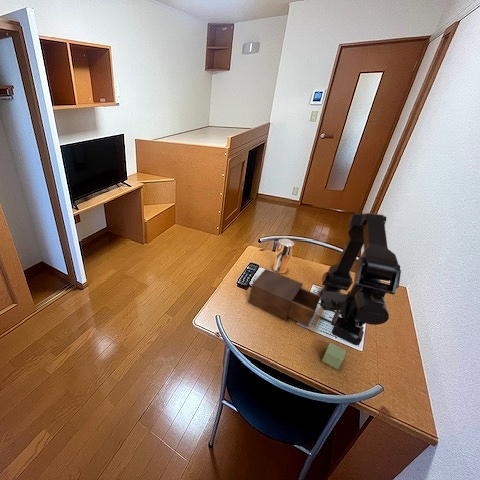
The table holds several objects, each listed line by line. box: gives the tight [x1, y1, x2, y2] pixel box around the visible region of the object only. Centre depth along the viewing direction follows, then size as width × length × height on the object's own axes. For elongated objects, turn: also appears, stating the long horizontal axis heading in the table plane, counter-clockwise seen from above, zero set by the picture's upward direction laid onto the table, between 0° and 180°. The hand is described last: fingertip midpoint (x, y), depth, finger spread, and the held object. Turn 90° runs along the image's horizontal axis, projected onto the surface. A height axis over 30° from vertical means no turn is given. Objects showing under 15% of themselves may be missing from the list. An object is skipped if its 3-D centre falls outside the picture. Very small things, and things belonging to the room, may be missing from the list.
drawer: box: [287, 287, 341, 332], centre depth 94 cm, size 18×11×8 cm, turn 48°
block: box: [321, 342, 347, 370], centre depth 81 cm, size 4×4×4 cm
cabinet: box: [248, 268, 304, 321], centre depth 102 cm, size 15×13×10 cm
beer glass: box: [272, 238, 296, 274], centre depth 118 cm, size 7×7×15 cm
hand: (343, 336), depth 76 cm, fingers closed
